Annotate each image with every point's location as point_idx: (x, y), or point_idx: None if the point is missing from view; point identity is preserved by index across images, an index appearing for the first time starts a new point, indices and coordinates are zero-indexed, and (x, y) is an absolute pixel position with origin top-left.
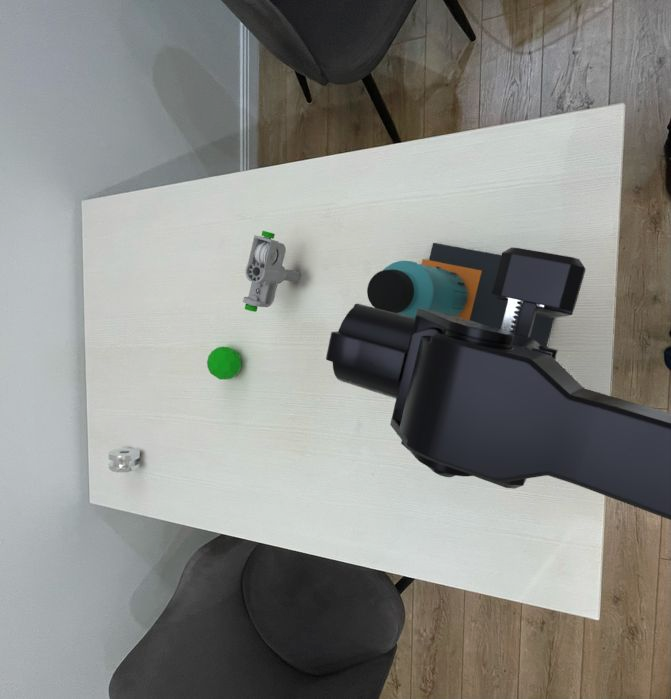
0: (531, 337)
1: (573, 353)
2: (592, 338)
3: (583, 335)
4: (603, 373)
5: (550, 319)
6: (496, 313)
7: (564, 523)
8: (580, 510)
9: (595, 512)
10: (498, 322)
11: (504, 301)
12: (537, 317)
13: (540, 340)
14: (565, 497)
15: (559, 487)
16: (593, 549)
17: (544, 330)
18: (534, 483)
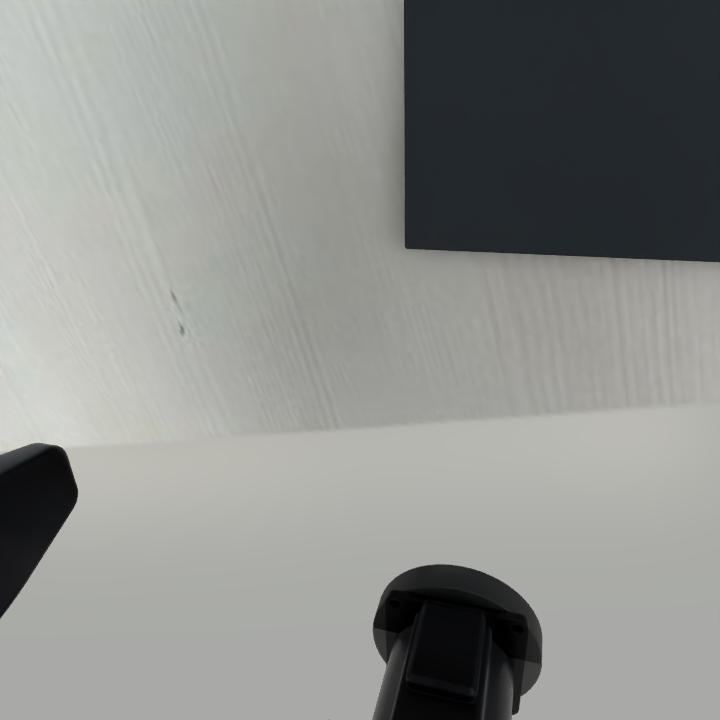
0: (519, 195)
1: (488, 334)
2: (549, 378)
3: (555, 353)
4: (445, 418)
5: (604, 249)
6: (609, 11)
7: (47, 382)
8: (93, 410)
9: (108, 439)
10: (565, 35)
11: (674, 33)
12: (607, 199)
13: (513, 231)
14: (100, 376)
15: (113, 359)
16: None
17: (556, 236)
18: (87, 299)
